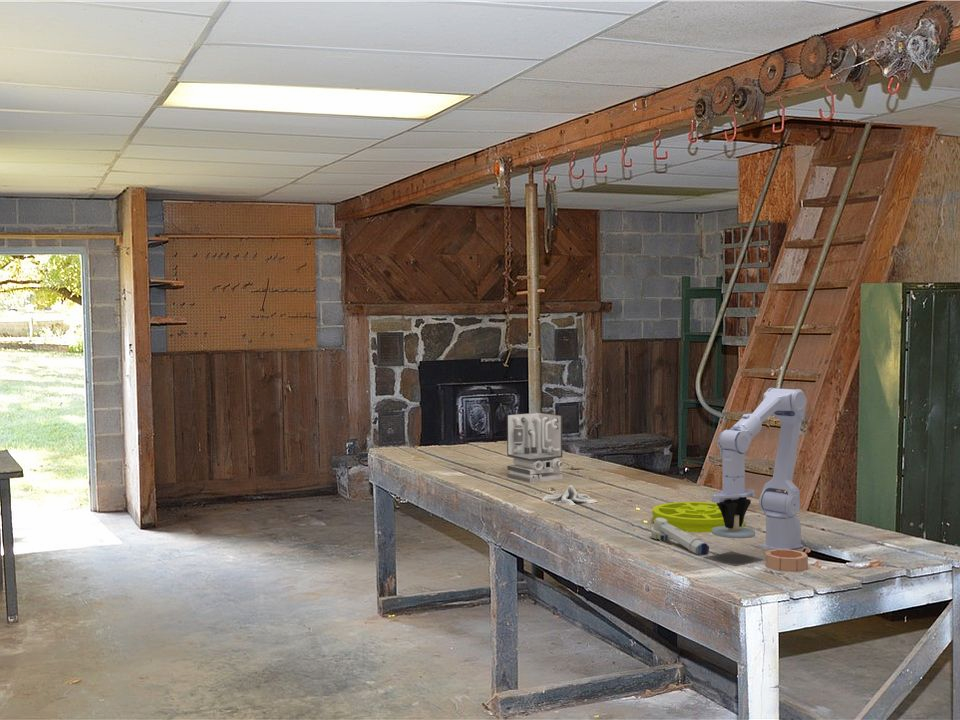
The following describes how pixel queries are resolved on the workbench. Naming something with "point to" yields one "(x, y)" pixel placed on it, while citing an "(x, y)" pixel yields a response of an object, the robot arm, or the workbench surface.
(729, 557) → the mat
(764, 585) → the workbench surface
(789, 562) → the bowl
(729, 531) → the lid
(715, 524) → the pulley
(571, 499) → the cloth
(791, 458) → the robot arm
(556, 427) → the electrical transformer
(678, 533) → the grey flashlight
